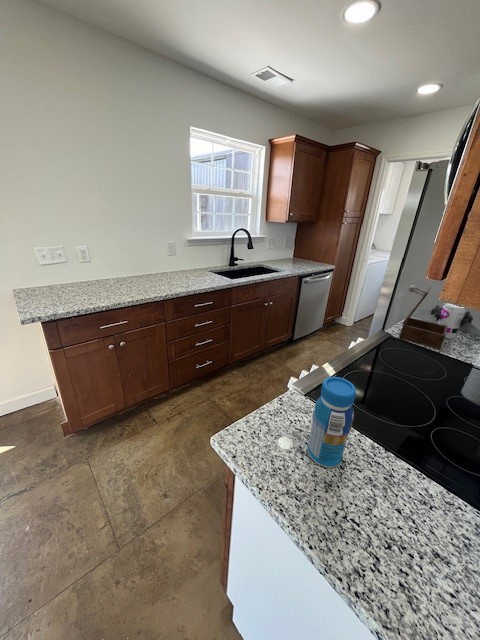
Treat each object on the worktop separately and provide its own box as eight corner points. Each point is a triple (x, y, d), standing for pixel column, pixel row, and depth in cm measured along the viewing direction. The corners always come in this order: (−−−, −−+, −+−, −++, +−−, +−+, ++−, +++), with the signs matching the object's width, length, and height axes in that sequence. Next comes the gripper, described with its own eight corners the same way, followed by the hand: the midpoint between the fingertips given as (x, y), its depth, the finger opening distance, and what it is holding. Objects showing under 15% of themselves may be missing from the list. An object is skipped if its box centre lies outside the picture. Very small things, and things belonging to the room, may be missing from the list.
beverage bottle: (299, 450, 64) (310, 383, 56) (319, 433, 69) (332, 369, 61) (329, 476, 58) (347, 405, 50) (349, 455, 63) (368, 387, 55)
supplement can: (437, 338, 122) (448, 307, 116) (431, 330, 129) (441, 301, 123) (458, 340, 120) (470, 309, 114) (450, 332, 127) (461, 303, 121)
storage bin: (442, 339, 121) (447, 326, 118) (440, 350, 112) (445, 335, 109) (403, 329, 129) (407, 316, 127) (398, 338, 120) (402, 324, 118)
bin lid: (431, 286, 117) (415, 279, 120) (428, 293, 108) (411, 285, 111) (408, 316, 126) (394, 308, 129) (404, 324, 117) (388, 316, 120)
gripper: (475, 320, 130) (477, 335, 113) (425, 309, 141) (420, 322, 125) (482, 305, 127) (484, 319, 110) (430, 295, 138) (425, 307, 122)
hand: (450, 321), depth 118 cm, fingers closed on supplement can, 8 cm apart
